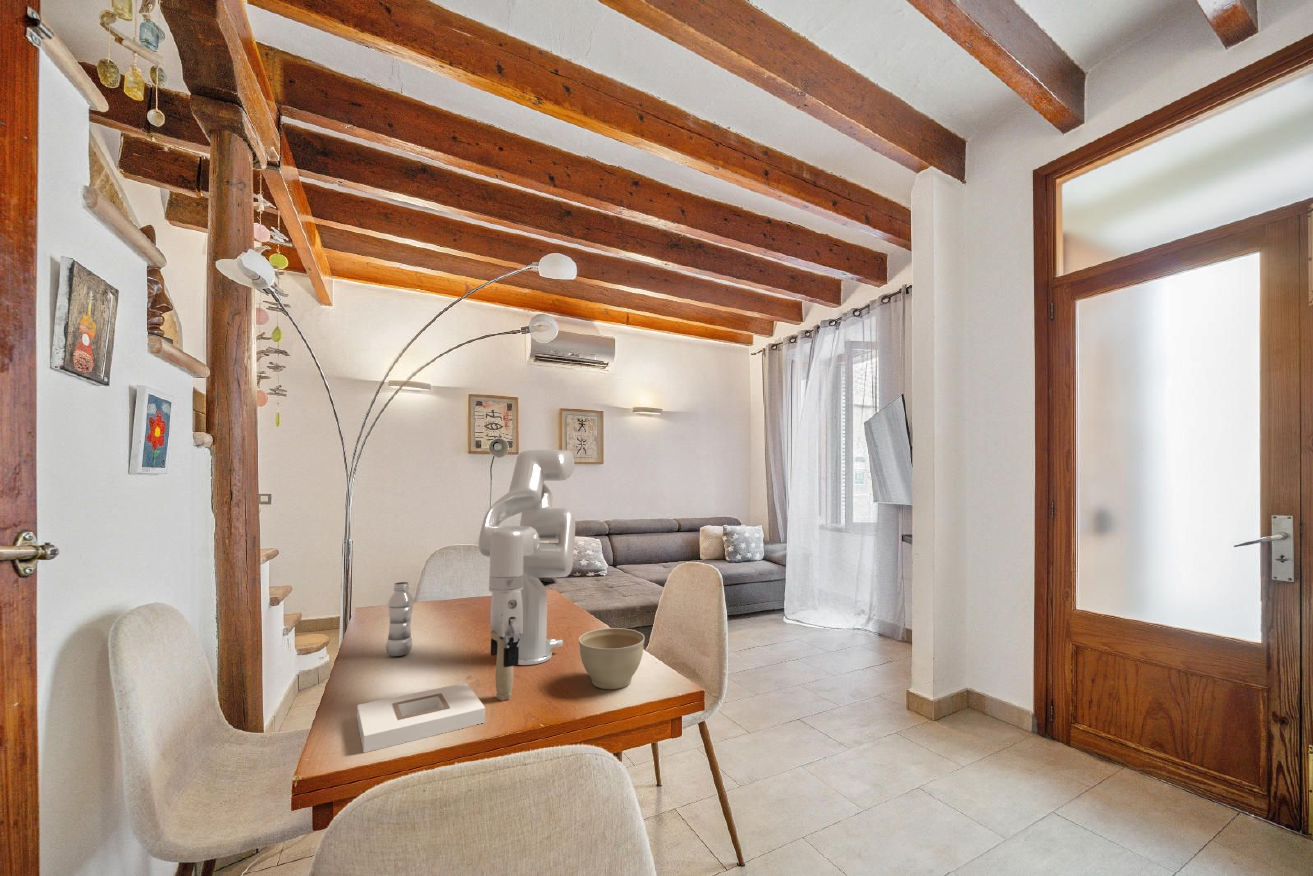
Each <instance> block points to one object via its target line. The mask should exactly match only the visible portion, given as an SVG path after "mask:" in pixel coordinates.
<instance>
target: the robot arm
mask: <svg viewBox="0 0 1313 876" xmlns="http://www.w3.org/2000/svg"><path fill="white" fill-rule="evenodd" d="M574 469H575V458H574V455H573V453H572V452H571V450H568V449H532V450H531V449H530V450H525V451H521V452H520V453H518V455H517V456H516V461H515V466H514V469H513V473H512V478H511V482H510V486H509V490H508V492H507V493H506V494H505V495H503V496H501V497H500V498H498V500H496V501H495V502H494V503H493V504H492V506H490V507H489V508H488V510H487V511H486V513H485V515H484V517H483V520H482V525H481V527H480V532H479V536H478V548H479V552H480V553H481V554H482V555H483V556H485V557H487V558H489V578H488V579H489V580H488V582H489V583H488V591H489V592H491V603H490V619H489V621H490V629H491V631H492V630H493V631H494V632H495V633H496V634H498V635H499V636H501V637H503V638H504V641H505V647H506V648H504V660H503V666H504V667H510V666H513V667H515V666H531V665H538V664H542V663H545V662H547V661H549V660H550V659H551V658H552V656H553V651H552V650H553V649H554V648H561V647H563V646H564V641H563V639H555V638H551V639H548V638H547V632H548V631H547V629H548V628H547V626H548V624H547V619H548V593H547V589H546V588H545V587H546V586H544V584H543V582H541V580H540V579H542V578H565V577H568V576H569V575H570V574H571V573H572V570H573V566H574V555H575V554H574V553H575V539H576V518H575V514H574V512H573V511H572V510H570V508H569V509H568V508H563V507H562V508H558V507H556V508H555V507H552V505H553V493H552V491H551V490H550V489H549V487H548V486H547V485H546V484H545V483H544V481H545V482H546V481H549V482H550V481H551V482H552V481H554V482H557V481H565V480H567V479H569V478H570V477H571V476H572V475H573V473H574ZM518 514H521V515H520V521H519V522H520V523H519V526H518V525H517V526H514V525H501V524H502V522H504V521H505V520H507V519H508V518H510V517H513V516H516V515H518ZM506 633H507V634H506ZM508 638H510V640H508ZM497 648H498V645H497V641H495V640H494V639H492V638H491V637H490V655H491V656H492V657H494V656H497Z"/></svg>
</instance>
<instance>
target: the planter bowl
mask: <svg viewBox="0 0 1313 876" xmlns="http://www.w3.org/2000/svg"><path fill="white" fill-rule="evenodd" d="M578 644H579V654H580V655H579V656H580V660H581V662H582V665H583V667H584V670H585V671H586V673H587V674H588V676H589V677H590V679H591V682H592V683H591V684H592V685H593V686H594V687H597V688H599V689H603V690H617V689H623V688H625V687H627V686H629V685H630V684H631V683H632V678H633V676H634V675H635V673H636V672H637V670H638V668H639V666H640V664H641V660H642V658H643V653H644V644H645V635H644V634H643V633H642V632H639V631H637V630H635V629H630V628H629V629H628V628H619V627H615V628H614V627H612V628H611V627H610V628H600V629H594V630H591V631H590V630H589V631H587V632H585V633H583V634H582V635H580V636H579V637H578Z"/></svg>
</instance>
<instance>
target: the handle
mask: <svg viewBox="0 0 1313 876" xmlns="http://www.w3.org/2000/svg"><path fill="white" fill-rule="evenodd" d="M506 634H507V633H506ZM491 638H492V639H494V640H495V641H497V645H498V648H497V655H496V663H495V677H494V678H495V690H496V692H497V693H496V699H497V700H499V701H501V700H503V701H508V700H510V699H511V697H512V695H513V685H514V677H515V676H514V666H510V667H504V666H503V660H504V648H506V647H505V641H504V638H503V637H501V636H499V635H498V634H496V633H495V632H494V631H493V630H492V629H491V631H490V639H491ZM508 640H510V638H508Z"/></svg>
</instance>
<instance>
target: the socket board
mask: <svg viewBox="0 0 1313 876" xmlns="http://www.w3.org/2000/svg"><path fill="white" fill-rule="evenodd" d="M356 709H357V710H356V711H357V712H356V713H357V714H356V722H357V726H358V727H357V728H358V731H359V736H360V737H359V738H360V743H361V747H362V751H363V754H366V753H368V752H373V751H377V750H381V749H385V748H389V747H393V746H397V745H402V744H406V743H411V742H414V741H417V740H422V739H425V737H426V738H429V737H434V736H438V735H437V734H439V735H441V733H443V734H446V733H445V732H447V733H451V732H454V731H458V729H459V730H462V728H463V729H467V728H471V727H475V726H478V725H477V724H479V725H482V724H481V723H483V724H486V707H485V705H484V704H483V703H482V701H481V700H480V699H479V697H478V696H477V695H476V693H475V692H474V691H473V689H472V688H471V687H470V686H469V684H468V683H467V682H463V683H458V684H452V685H449V686H443V687H438V688H437V687H436V688H433V689H429V690H428V689H427V690H424V691H423V690H422V691H418V692H414V693H409V694H403V695H399V696H398V695H397V696H393V697H390V698H389V697H388V698H384V699H379V700H374V701H370V702H369V701H368V702H363V703H358V704H357V708H356ZM433 735H434V736H433ZM421 738H422V739H421ZM405 742H406V743H405Z"/></svg>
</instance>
